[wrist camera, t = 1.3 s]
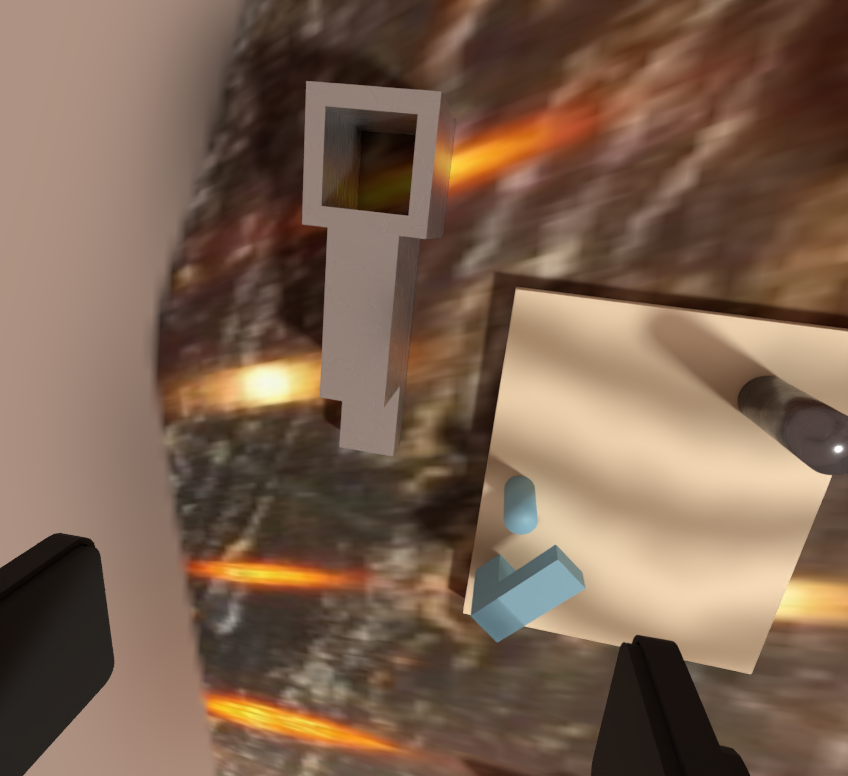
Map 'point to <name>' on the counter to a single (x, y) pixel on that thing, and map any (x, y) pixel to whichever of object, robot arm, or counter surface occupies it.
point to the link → (371, 247)
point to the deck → (656, 467)
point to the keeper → (522, 573)
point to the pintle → (798, 423)
